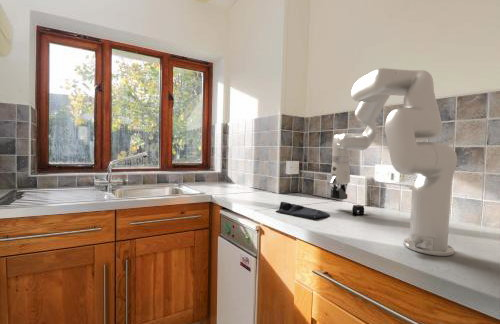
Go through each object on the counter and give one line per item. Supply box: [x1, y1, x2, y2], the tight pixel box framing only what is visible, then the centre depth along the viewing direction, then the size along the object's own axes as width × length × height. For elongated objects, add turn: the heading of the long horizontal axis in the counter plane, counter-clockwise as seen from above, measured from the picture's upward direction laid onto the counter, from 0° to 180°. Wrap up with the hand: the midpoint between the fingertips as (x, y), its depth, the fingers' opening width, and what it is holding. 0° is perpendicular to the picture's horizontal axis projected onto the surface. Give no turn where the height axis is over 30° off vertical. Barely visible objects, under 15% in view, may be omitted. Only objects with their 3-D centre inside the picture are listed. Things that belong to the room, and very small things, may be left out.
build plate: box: [345, 204, 370, 217], centre depth 122 cm, size 12×7×5 cm, turn 110°
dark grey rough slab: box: [275, 201, 331, 220], centre depth 121 cm, size 15×22×5 cm
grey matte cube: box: [330, 187, 348, 201], centre depth 130 cm, size 5×6×5 cm
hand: (338, 197), depth 130 cm, fingers closed on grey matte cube, 5 cm apart
